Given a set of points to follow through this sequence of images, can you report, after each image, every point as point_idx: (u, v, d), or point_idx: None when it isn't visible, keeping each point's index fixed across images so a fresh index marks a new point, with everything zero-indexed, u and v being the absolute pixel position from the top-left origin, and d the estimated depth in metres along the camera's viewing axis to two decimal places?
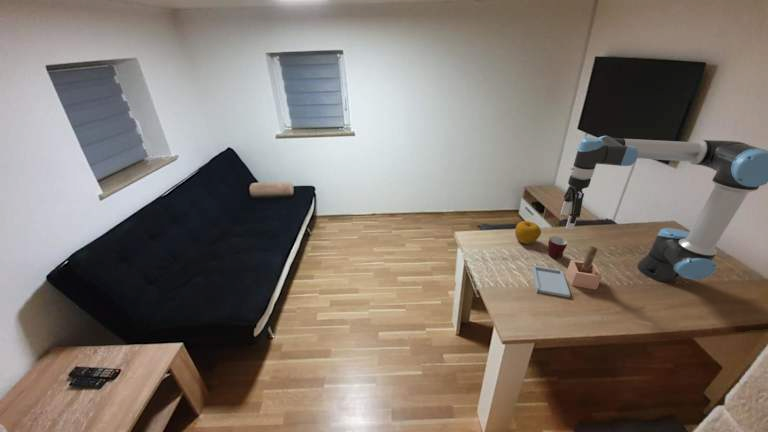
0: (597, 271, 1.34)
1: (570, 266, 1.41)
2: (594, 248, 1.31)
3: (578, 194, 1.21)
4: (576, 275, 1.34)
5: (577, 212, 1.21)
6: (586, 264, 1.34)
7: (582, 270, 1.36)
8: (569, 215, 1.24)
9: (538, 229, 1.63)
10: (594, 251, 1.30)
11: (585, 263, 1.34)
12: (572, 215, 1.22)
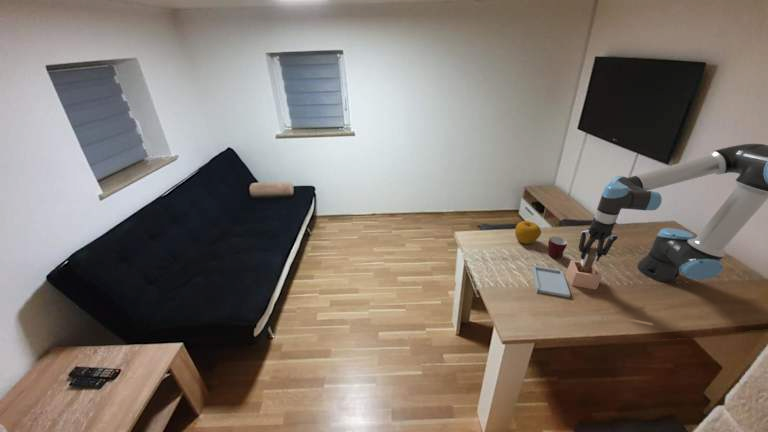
0: (597, 271, 1.34)
1: (570, 266, 1.41)
2: (594, 248, 1.31)
3: (581, 232, 1.30)
4: (576, 275, 1.34)
5: (579, 247, 1.32)
6: (586, 264, 1.34)
7: (582, 270, 1.36)
8: None
9: (538, 229, 1.63)
10: (594, 251, 1.30)
11: (585, 263, 1.34)
12: (579, 248, 1.34)
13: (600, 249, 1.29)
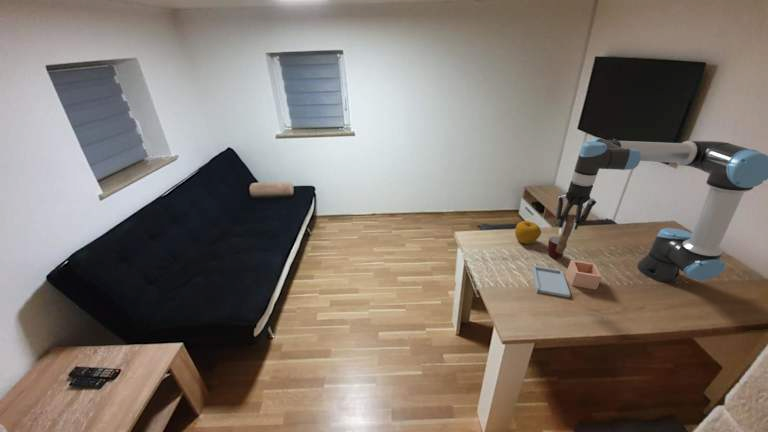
0: (597, 271, 1.34)
1: (570, 266, 1.41)
2: (572, 215, 1.22)
3: (558, 197, 1.22)
4: (576, 275, 1.34)
5: (557, 214, 1.24)
6: (564, 232, 1.25)
7: (560, 240, 1.28)
8: None
9: (538, 229, 1.63)
10: (572, 218, 1.22)
11: (563, 232, 1.26)
12: None
13: (578, 215, 1.21)
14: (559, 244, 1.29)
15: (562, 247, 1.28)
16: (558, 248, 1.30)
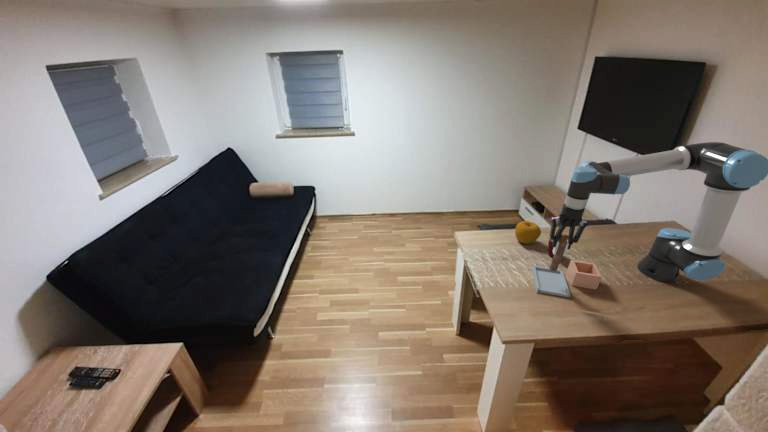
0: (597, 271, 1.34)
1: (570, 266, 1.41)
2: (565, 235, 1.27)
3: (551, 218, 1.26)
4: (576, 275, 1.34)
5: (550, 234, 1.29)
6: (558, 252, 1.30)
7: (554, 258, 1.32)
8: None
9: (538, 229, 1.63)
10: (565, 238, 1.26)
11: (557, 251, 1.30)
12: None
13: (571, 236, 1.25)
14: (553, 263, 1.33)
15: (556, 266, 1.33)
16: (552, 266, 1.34)
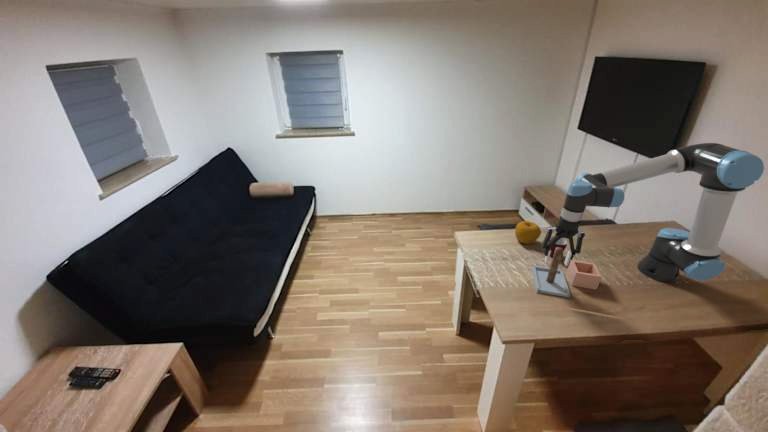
0: (597, 271, 1.34)
1: (570, 266, 1.41)
2: (560, 249, 1.30)
3: (548, 228, 1.29)
4: (576, 275, 1.34)
5: (543, 243, 1.31)
6: (553, 265, 1.33)
7: (550, 271, 1.36)
8: None
9: (538, 229, 1.63)
10: (560, 252, 1.30)
11: (552, 264, 1.34)
12: (542, 244, 1.33)
13: (572, 247, 1.27)
14: (549, 275, 1.37)
15: (552, 278, 1.36)
16: (548, 278, 1.37)
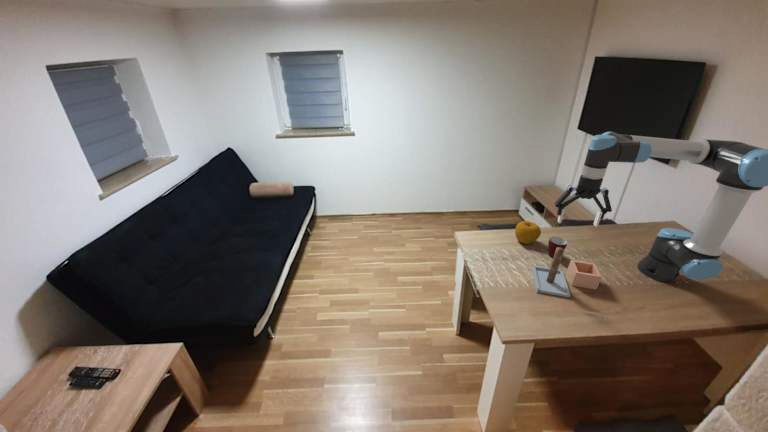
0: (597, 271, 1.34)
1: (570, 266, 1.41)
2: (561, 249, 1.30)
3: (568, 186, 1.21)
4: (576, 275, 1.34)
5: (557, 201, 1.24)
6: (554, 265, 1.33)
7: (550, 271, 1.36)
8: None
9: (538, 229, 1.63)
10: (561, 252, 1.29)
11: (553, 264, 1.34)
12: (555, 203, 1.26)
13: (600, 206, 1.20)
14: (549, 275, 1.37)
15: (552, 278, 1.36)
16: (548, 278, 1.37)
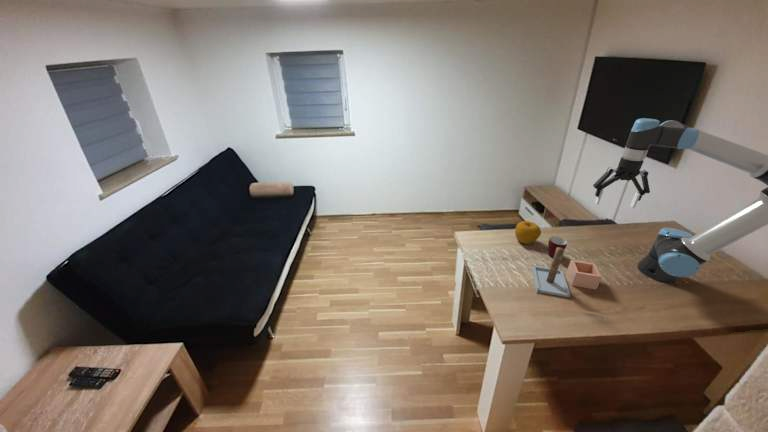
0: (597, 271, 1.34)
1: (570, 266, 1.41)
2: (561, 249, 1.30)
3: (608, 168, 1.28)
4: (576, 275, 1.34)
5: (596, 183, 1.31)
6: (554, 265, 1.33)
7: (550, 271, 1.36)
8: None
9: (538, 229, 1.63)
10: (561, 252, 1.29)
11: (553, 264, 1.34)
12: (593, 185, 1.33)
13: (638, 188, 1.26)
14: (549, 275, 1.37)
15: (552, 278, 1.36)
16: (548, 278, 1.37)
